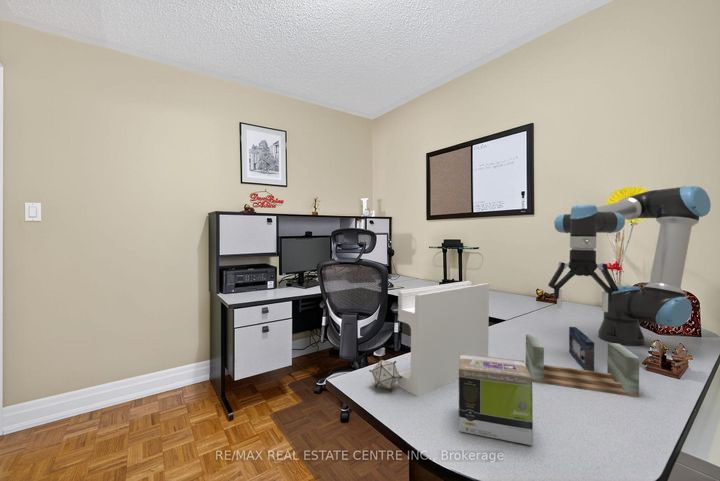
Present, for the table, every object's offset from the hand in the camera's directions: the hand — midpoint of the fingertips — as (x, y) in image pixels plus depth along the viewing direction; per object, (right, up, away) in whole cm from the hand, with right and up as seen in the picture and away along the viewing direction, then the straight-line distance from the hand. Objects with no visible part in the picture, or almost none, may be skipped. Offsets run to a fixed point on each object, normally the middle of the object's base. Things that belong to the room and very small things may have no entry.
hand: (581, 309), depth 108 cm
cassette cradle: (-11, -19, -14) cm, 26 cm away
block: (-51, -19, -10) cm, 55 cm away
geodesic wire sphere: (-71, -19, -19) cm, 75 cm away
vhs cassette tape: (0, -19, 0) cm, 19 cm away
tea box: (-47, -19, -37) cm, 63 cm away
